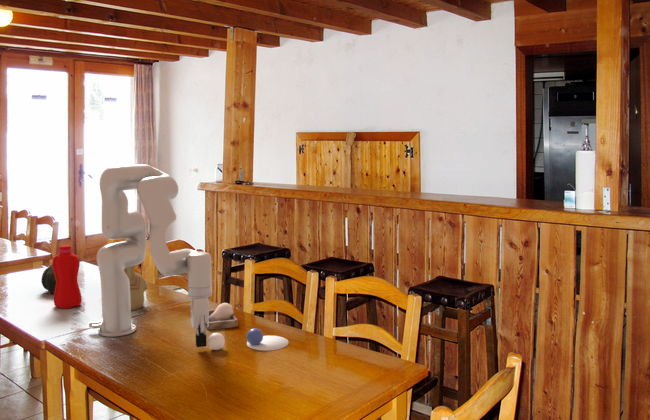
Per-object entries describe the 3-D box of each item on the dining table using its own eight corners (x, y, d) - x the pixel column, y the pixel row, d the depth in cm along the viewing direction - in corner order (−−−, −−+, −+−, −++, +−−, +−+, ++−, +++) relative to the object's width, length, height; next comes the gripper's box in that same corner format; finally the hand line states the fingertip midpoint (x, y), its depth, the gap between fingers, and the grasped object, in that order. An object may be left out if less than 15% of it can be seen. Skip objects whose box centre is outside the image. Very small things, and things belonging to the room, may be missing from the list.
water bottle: (69, 300, 247) (66, 242, 244) (84, 305, 241) (82, 245, 238) (48, 305, 240) (45, 245, 237) (63, 310, 234) (60, 248, 230)
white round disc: (251, 352, 189) (251, 352, 189) (243, 338, 202) (243, 337, 202) (293, 347, 194) (293, 347, 194) (282, 334, 207) (282, 333, 207)
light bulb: (208, 313, 214) (232, 299, 220) (200, 312, 219) (224, 299, 226) (215, 329, 215) (239, 315, 221) (206, 328, 220) (230, 315, 227)
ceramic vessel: (141, 298, 251) (139, 240, 248) (154, 310, 234) (151, 248, 231) (99, 304, 242) (96, 244, 239) (109, 317, 226) (106, 252, 222)
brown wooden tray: (207, 329, 211) (207, 323, 211) (201, 316, 226) (201, 310, 226) (237, 326, 215) (237, 320, 214) (230, 314, 230) (230, 307, 229)
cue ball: (221, 334, 189) (227, 348, 190) (220, 327, 194) (226, 341, 195) (205, 341, 188) (211, 355, 189) (204, 333, 193) (210, 347, 195)
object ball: (261, 328, 194) (267, 342, 195) (257, 323, 199) (263, 337, 200) (245, 335, 192) (252, 350, 194) (242, 330, 198) (248, 344, 199)
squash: (30, 284, 252) (54, 257, 254) (39, 277, 267) (62, 252, 268) (58, 304, 255) (81, 278, 257) (65, 296, 270) (87, 271, 271)
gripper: (185, 286, 194) (187, 339, 197) (190, 297, 180) (191, 355, 183) (208, 284, 197) (209, 337, 199) (215, 295, 183) (216, 352, 185)
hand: (201, 345), depth 191 cm, fingers closed
